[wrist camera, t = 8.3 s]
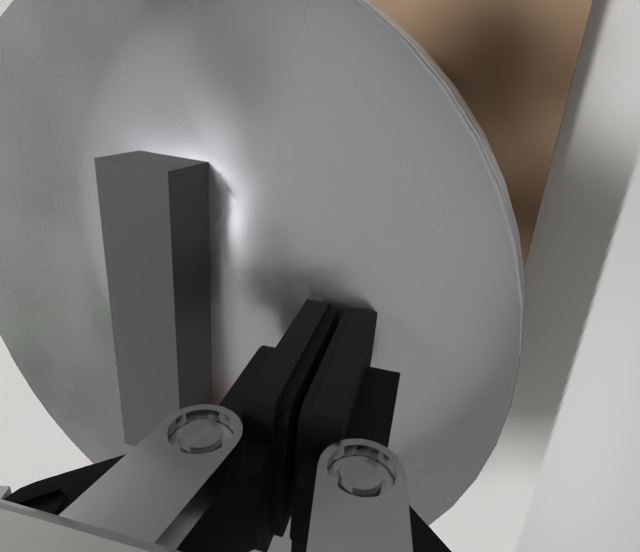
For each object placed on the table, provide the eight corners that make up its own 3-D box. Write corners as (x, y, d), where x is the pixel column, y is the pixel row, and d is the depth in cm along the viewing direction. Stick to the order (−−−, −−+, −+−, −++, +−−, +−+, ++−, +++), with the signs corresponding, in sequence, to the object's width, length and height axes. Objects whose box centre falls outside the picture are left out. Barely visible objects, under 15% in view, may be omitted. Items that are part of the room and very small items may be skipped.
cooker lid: (-42, -44, 15) (-205, -78, 12) (625, -46, 9) (666, -119, 6) (40, 398, 22) (-50, 454, 19) (456, 576, 16) (430, 708, 12)
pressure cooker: (139, -85, 25) (-138, -227, 13) (605, -75, 21) (809, -269, 9) (165, 339, 35) (19, 475, 23) (484, 403, 31) (506, 609, 19)
